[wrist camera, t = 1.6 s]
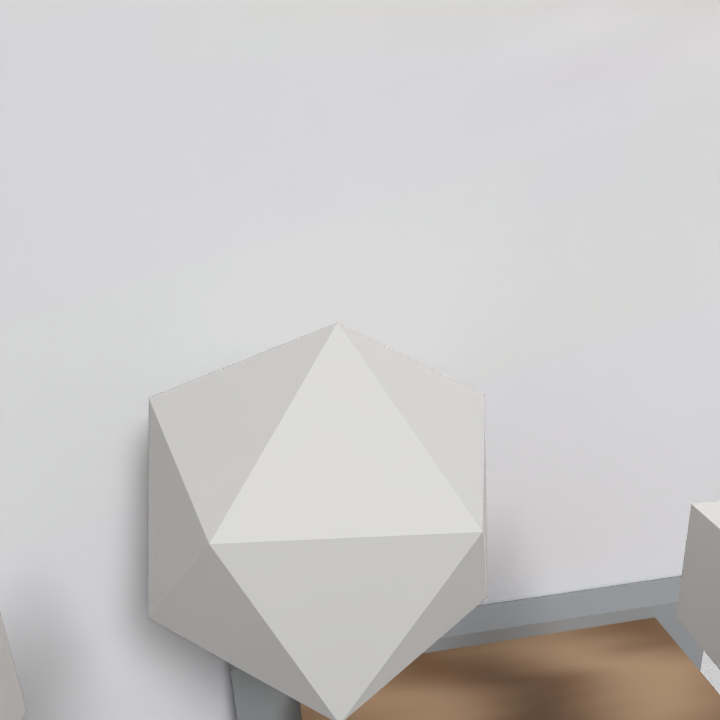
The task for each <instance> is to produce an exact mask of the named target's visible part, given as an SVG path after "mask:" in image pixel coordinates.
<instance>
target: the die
mask: <svg viewBox="0 0 720 720" xmlns="http://www.w3.org/2000/svg"><path fill="white" fill-rule="evenodd" d="M486 598H487V540H486V464H485V395H484V394H482V393H480V392H478V391H476V390H474V389H472V388H470V387H468V386H466V385H464V384H462V383H460V382H458V381H456V380H454V379H452V378H450V377H448V376H445V375H443V374H441V373H439V372H437V371H435V370H433V369H431V368H429V367H427V366H425V365H423V364H421V363H419V362H417V361H415V360H413V359H411V358H409V357H407V356H405V355H403V354H401V353H399V352H397V351H395V350H393V349H391V348H388V347H386V346H384V345H382V344H380V343H378V342H376V341H374V340H372V339H370V338H368V337H366V336H364V335H362V334H360V333H358V332H356V331H354V330H352V329H350V328H348V327H346V326H344V325H342V324H340V323H335V324H333V325H330V326H328V327H325V328H323V329H320V330H318V331H315V332H313V333H310V334H308V335H305V336H303V337H300V338H298V339H295V340H293V341H290V342H288V343H285V344H282V345H280V346H277V347H275V348H272V349H270V350H267V351H265V352H262V353H260V354H257V355H255V356H252V357H250V358H247V359H245V360H242V361H240V362H237V363H235V364H232V365H230V366H227V367H225V368H222V369H220V370H217V371H215V372H212V373H210V374H207V375H205V376H202V377H200V378H197V379H195V380H192V381H190V382H187V383H185V384H182V385H180V386H177V387H175V388H172V389H170V390H167V391H165V392H162V393H160V394H157V395H155V396H152V397H150V398H149V453H148V618H149V619H150V620H152V621H154V622H156V623H158V624H159V625H161V626H163V627H165V628H167V629H168V630H170V631H172V632H174V633H176V634H178V635H179V636H181V637H183V638H185V639H187V640H188V641H190V642H192V643H194V644H196V645H197V646H199V647H201V648H203V649H205V650H206V651H208V652H210V653H212V654H214V655H215V656H217V657H219V658H221V659H223V660H224V661H226V662H228V663H230V664H232V665H233V666H235V667H237V668H239V669H241V670H243V671H244V672H246V673H248V674H250V675H252V676H253V677H255V678H257V679H259V680H261V681H262V682H264V683H266V684H268V685H270V686H271V687H273V688H275V689H277V690H279V691H280V692H282V693H284V694H286V695H288V696H289V697H291V698H293V699H295V700H297V701H299V702H300V703H302V704H304V705H306V706H308V707H309V708H311V709H313V710H315V711H317V712H318V713H320V714H322V715H324V716H326V717H327V718H329V719H331V720H345V719H347V718H348V717H349V716H350V715H351V714H352V713H354V712H355V711H356V710H357V709H358V708H359V707H361V706H362V705H363V704H364V703H365V702H366V701H367V700H369V699H370V698H371V697H372V696H373V695H374V694H376V693H377V692H378V691H379V690H380V689H381V688H383V687H384V686H385V685H386V684H387V683H388V682H389V681H391V680H392V679H393V678H394V677H395V676H396V675H398V674H399V673H400V672H401V671H402V670H403V669H405V668H406V667H407V666H408V665H409V664H410V663H411V662H413V661H414V660H415V659H416V658H417V657H418V656H420V655H421V654H422V653H423V652H424V651H425V650H427V649H428V648H429V647H430V646H431V645H432V644H434V643H435V642H436V641H437V640H438V639H439V638H440V637H442V636H443V635H444V634H445V633H446V632H447V631H449V630H450V629H451V628H452V627H453V626H454V625H456V624H457V623H458V622H459V621H460V620H461V619H462V618H464V617H465V616H466V615H467V614H468V613H469V612H471V611H472V610H473V609H474V608H475V607H476V606H478V605H479V604H480V603H481V602H482V601H483V600H485V599H486Z"/></svg>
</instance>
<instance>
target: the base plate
mask: <svg viewBox="0 0 720 720" xmlns="http://www.w3.org/2000/svg"><path fill="white" fill-rule="evenodd" d="M681 577H682V576H678V577H671V578H665V579H658V580H651V581H644V582H637V583H631V584H624V585H617V586H610V587H603V588H597V589H590V590H583V591H576V592H569V593H563V594H556V595H549V596H542V597H535V598H529V599H522V600H515V601H508V602H502V603H495V604H488V605H481V606H476V607H475V608H474V609H473V610H472V611H471V612H469V613H468V614H467V615H466V616H465V617H464V618H462V619H461V620H460V621H459V622H458V623H457V624H456V625H454V626H453V627H452V628H451V629H450V630H449V631H447V632H446V633H445V634H444V635H443V636H442V637H440V638H439V639H438V640H437V641H436V642H435V643H434V644H432V645H431V646H430V647H429V648H428V649H427V650H425V651H424V652H423V653H429V652H435V651H441V650H448V649H454V648H461V647H467V646H474V645H480V644H487V643H493V642H499V641H506V640H512V639H519V638H525V637H532V636H538V635H544V634H551V633H557V632H564V631H570V630H577V629H583V628H590V627H596V626H602V625H609V624H615V623H622V622H628V621H635V620H641V619H648V618H654V617H655V618H656V619H657V620H658V622H659V623H660V624H661V625H662V626H663V628H664V629H665V630H666V631H667V632H668V634H669V635H670V636H671V637H672V638H673V640H674V641H675V642H676V643H677V644H678V646H679V647H680V648H681V649H682V650H683V652H684V653H685V654H686V655H687V656H688V658H689V659H690V660H691V661H692V662H693V664H694V665H695V666H696V667H697V668H698V669H699V671H700V668H701V662H702V656H703V649H702V648H701V647H700V645H699V644H698V643H697V642H696V641H695V639H694V638H693V637H692V636H691V635H690V634H689V632H688V631H687V630H686V629H685V628H684V627H683V625H682V624H681V623H680V622H679V621H678V619H677V618H676V614H677V606H678V599H679V592H680V584H681ZM230 671H231V678H232V686H233V693H234V701H235V708H236V716H237V720H301V709H300V702H299V701H297V700H295V699H293V698H291V697H289V696H288V695H286V694H284V693H282V692H280V691H279V690H277V689H275V688H273V687H271V686H270V685H268V684H266V683H264V682H262V681H261V680H259V679H257V678H255V677H253V676H252V675H250V674H248V673H246V672H244V671H243V670H241V669H239V668H237V667H235V666H233V665H232V664H231V667H230Z"/></svg>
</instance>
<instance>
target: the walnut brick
mask: <svg viewBox="0 0 720 720" xmlns="http://www.w3.org/2000/svg"><path fill="white" fill-rule="evenodd" d="M300 709H301V720H331V719H329V718H327V717H326V716H324V715H322V714H320V713H318V712H317V711H315V710H313V709H311V708H309V707H308V706H306V705H304V704H302V703H300ZM345 720H720V695H719V693H718V692H717V691H716V690H715V689H714V687H713V686H712V685H711V684H710V683H709V681H708V680H707V679H706V678H705V677H704V675H703V674H702V673H701V672H700V671H699V669H698V668H697V667H696V666H695V665H694V664H693V662H692V661H691V660H690V659H689V658H688V656H687V655H686V654H685V653H684V652H683V650H682V649H681V648H680V647H679V646H678V644H677V643H676V642H675V641H674V640H673V638H672V637H671V636H670V635H669V634H668V632H667V631H666V630H665V629H664V628H663V626H662V625H661V624H660V623H659V622H658V620H657V619H656V618H655V617H654V618H648V619H641V620H635V621H628V622H622V623H615V624H609V625H602V626H596V627H590V628H583V629H577V630H570V631H564V632H557V633H551V634H544V635H538V636H532V637H525V638H519V639H512V640H506V641H499V642H493V643H487V644H480V645H474V646H467V647H461V648H454V649H448V650H441V651H435V652H429V653H422V654H421V655H420V656H418V657H417V658H416V659H415V660H414V661H413V662H411V663H410V664H409V665H408V666H407V667H406V668H405V669H403V670H402V671H401V672H400V673H399V674H398V675H396V676H395V677H394V678H393V679H392V680H391V681H389V682H388V683H387V684H386V685H385V686H384V687H383V688H381V689H380V690H379V691H378V692H377V693H376V694H374V695H373V696H372V697H371V698H370V699H369V700H367V701H366V702H365V703H364V704H363V705H362V706H361V707H359V708H358V709H357V710H356V711H355V712H354V713H352V714H351V715H350V716H349V717H348V718H347V719H345Z"/></svg>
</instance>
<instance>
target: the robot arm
mask: <svg viewBox="0 0 720 720" xmlns="http://www.w3.org/2000/svg"><path fill="white" fill-rule="evenodd" d="M676 618H677V619H678V621H679V622H680V623H681V624H682V625H683V627H684V628H685V629H686V630H687V631H688V632H689V634H690V635H691V636H692V637H693V638H694V639H695V641H696V642H697V643H698V644H699V645H700V647H701V648H702V649H703V650H704V651H705V652H706V654H707V655H708V656H709V657H710V658H711V660H712V661H713V662H714V663H715V664H716V665H717V667H718V668H719V669H720V501H712V502H704V503H696V504H691V511H690V518H689V525H688V533H687V540H686V548H685V555H684V562H683V570H682V577H681V584H680V592H679V599H678V606H677V614H676ZM25 712H26V708H25V704H24V700H23V696H22V693H21V689H20V685H19V681H18V678H17V674H16V670H15V666H14V662H13V659H12V655H11V651H10V647H9V643H8V640H7V636H6V632H5V628H4V624H3V621H2V617H1V613H0V720H22V719H23V717H24V714H25Z"/></svg>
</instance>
